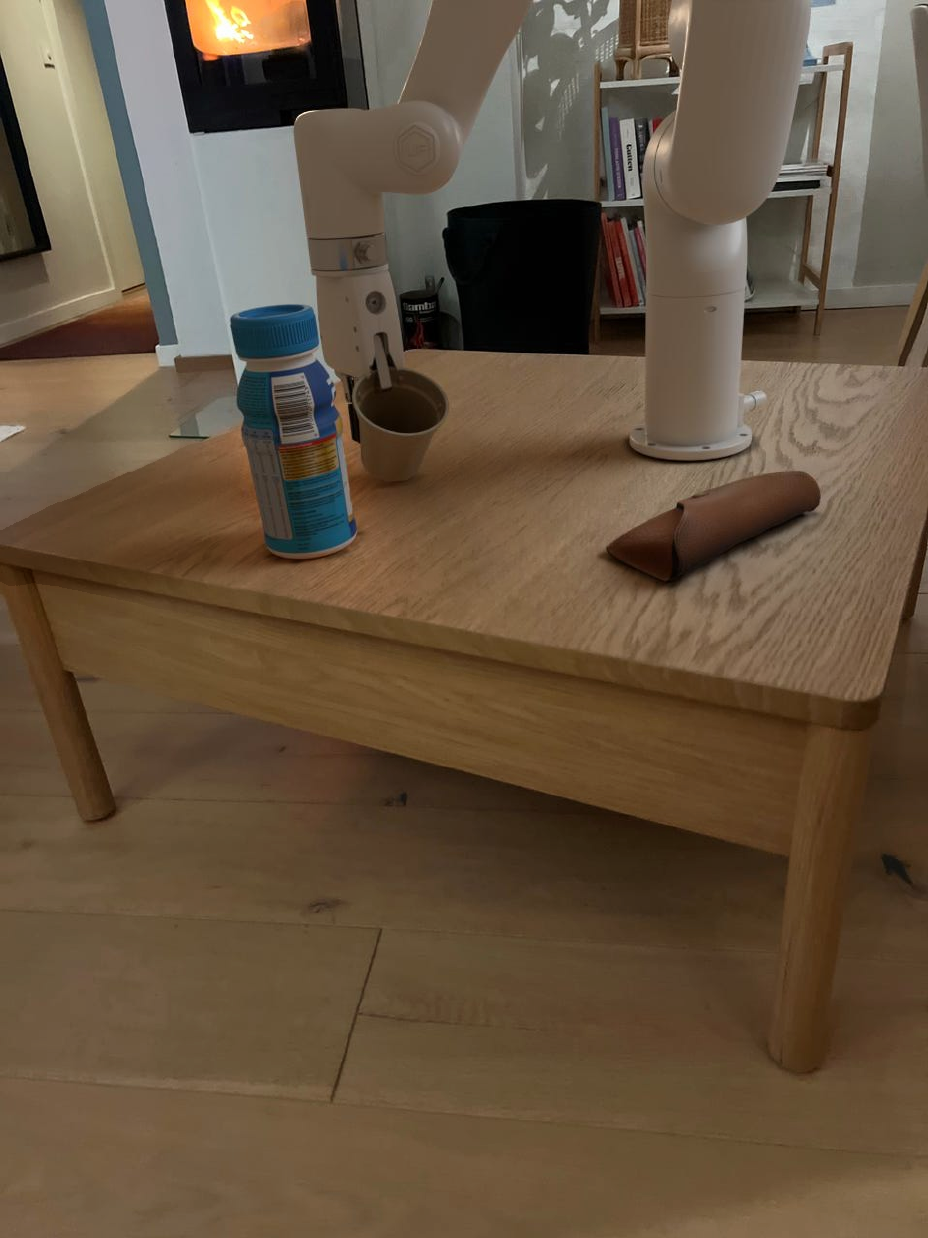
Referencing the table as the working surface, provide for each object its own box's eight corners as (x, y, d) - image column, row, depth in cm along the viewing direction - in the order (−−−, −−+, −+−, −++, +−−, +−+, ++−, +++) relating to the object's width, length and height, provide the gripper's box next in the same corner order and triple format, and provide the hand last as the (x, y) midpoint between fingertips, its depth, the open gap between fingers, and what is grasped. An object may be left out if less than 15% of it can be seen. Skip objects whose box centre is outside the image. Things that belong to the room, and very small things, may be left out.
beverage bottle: (247, 558, 79) (195, 322, 70) (295, 521, 86) (255, 302, 76) (331, 566, 76) (290, 320, 67) (375, 527, 83) (343, 299, 73)
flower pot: (427, 505, 92) (441, 444, 85) (335, 483, 91) (342, 420, 84) (441, 441, 97) (455, 379, 90) (355, 420, 97) (363, 356, 90)
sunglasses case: (736, 487, 82) (774, 433, 77) (791, 541, 80) (834, 489, 75) (597, 550, 73) (629, 493, 68) (654, 613, 70) (691, 559, 65)
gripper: (420, 256, 83) (435, 448, 92) (348, 246, 95) (367, 418, 103) (348, 266, 80) (370, 464, 89) (282, 254, 91) (307, 432, 100)
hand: (368, 439), depth 96 cm, fingers closed
